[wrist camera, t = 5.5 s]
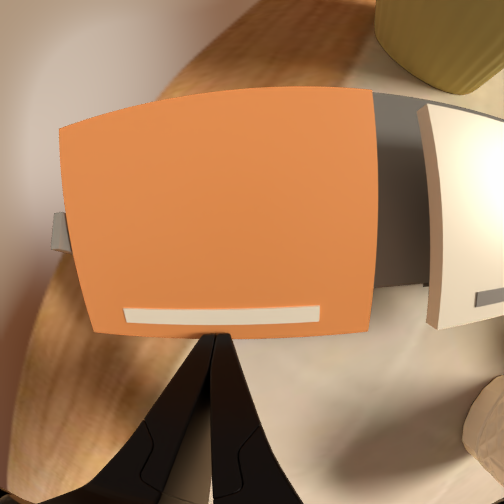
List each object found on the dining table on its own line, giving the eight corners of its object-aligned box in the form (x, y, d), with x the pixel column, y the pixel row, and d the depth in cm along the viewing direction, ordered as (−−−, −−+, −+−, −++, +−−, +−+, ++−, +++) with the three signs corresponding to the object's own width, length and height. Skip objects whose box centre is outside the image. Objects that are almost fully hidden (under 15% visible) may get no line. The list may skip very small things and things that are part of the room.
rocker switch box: (526, 272, 14) (607, 257, 5) (153, 299, 16) (48, 299, 7) (508, 171, 15) (576, 127, 7) (157, 168, 17) (83, 86, 9)
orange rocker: (361, 318, 9) (368, 332, 8) (104, 321, 10) (93, 333, 9) (363, 95, 7) (373, 88, 6) (73, 130, 8) (57, 128, 7)
